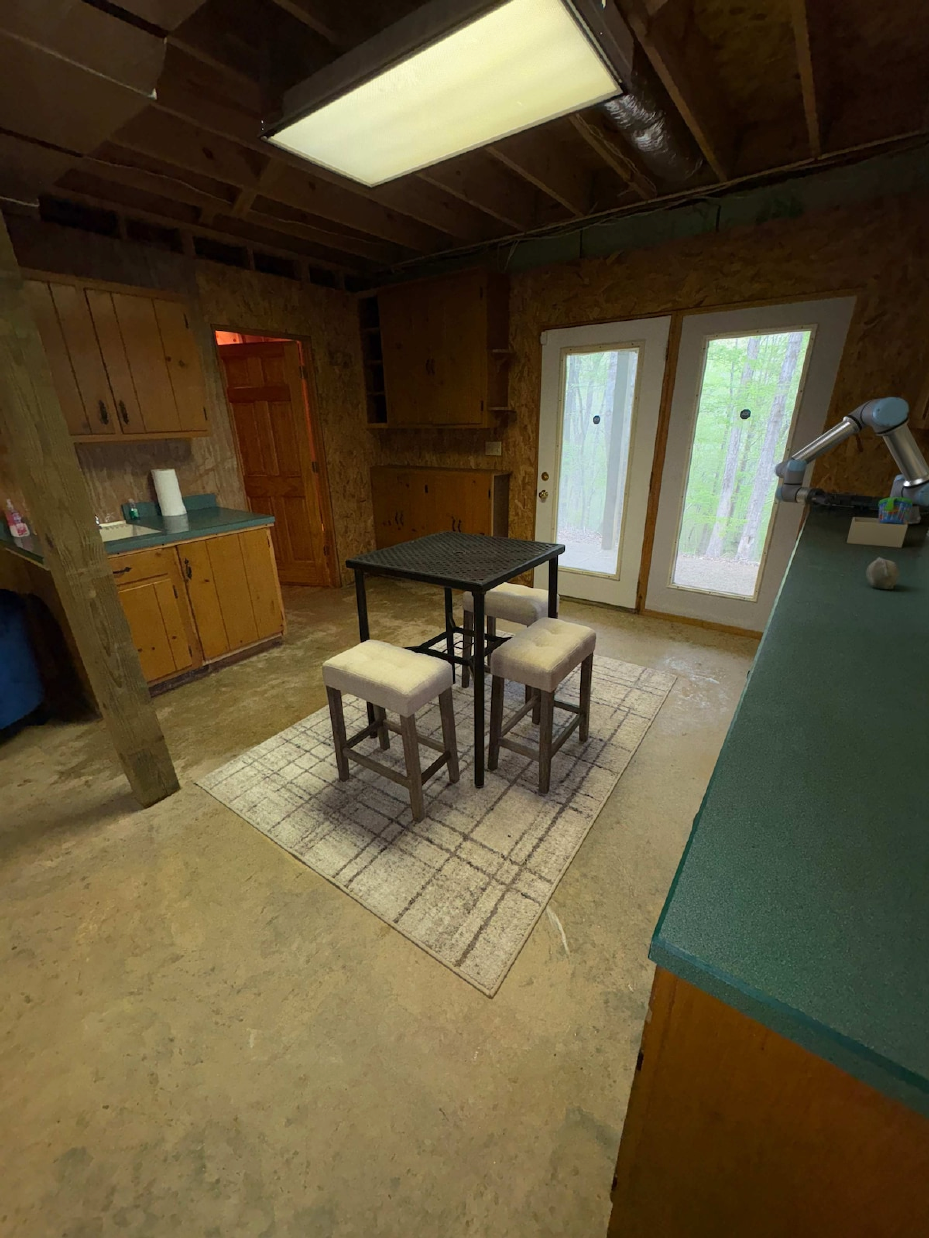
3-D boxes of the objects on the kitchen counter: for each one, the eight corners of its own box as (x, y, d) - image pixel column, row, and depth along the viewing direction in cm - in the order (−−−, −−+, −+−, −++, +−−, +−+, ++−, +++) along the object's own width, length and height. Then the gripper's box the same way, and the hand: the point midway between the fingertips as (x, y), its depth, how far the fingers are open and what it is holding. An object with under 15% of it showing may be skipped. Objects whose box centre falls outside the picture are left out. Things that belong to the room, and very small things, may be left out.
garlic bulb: (879, 598, 149) (885, 571, 143) (853, 586, 156) (858, 560, 150) (905, 586, 149) (912, 559, 144) (878, 574, 156) (884, 548, 151)
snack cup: (880, 533, 205) (885, 511, 205) (912, 532, 196) (918, 508, 196) (867, 519, 196) (872, 496, 197) (900, 517, 188) (906, 493, 188)
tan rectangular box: (847, 537, 214) (853, 517, 211) (900, 541, 204) (906, 520, 200) (846, 543, 204) (852, 521, 201) (901, 547, 194) (907, 525, 191)
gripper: (827, 502, 230) (877, 507, 211) (790, 506, 221) (839, 513, 203) (830, 485, 227) (881, 489, 209) (794, 490, 219) (843, 494, 200)
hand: (861, 501), depth 206 cm, fingers open, 13 cm apart
